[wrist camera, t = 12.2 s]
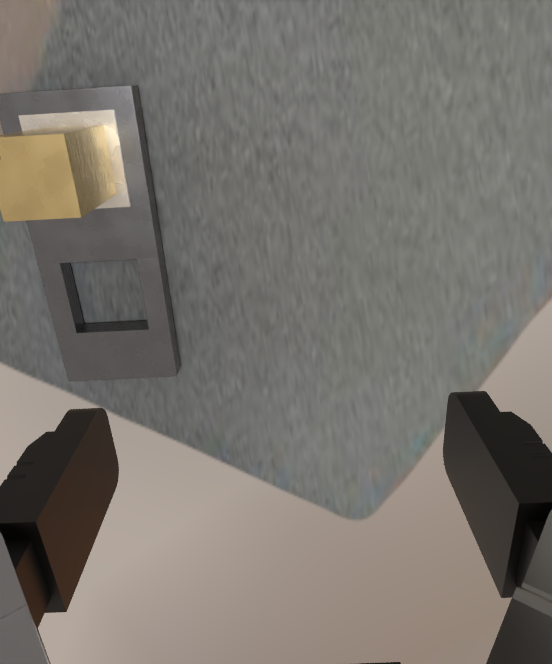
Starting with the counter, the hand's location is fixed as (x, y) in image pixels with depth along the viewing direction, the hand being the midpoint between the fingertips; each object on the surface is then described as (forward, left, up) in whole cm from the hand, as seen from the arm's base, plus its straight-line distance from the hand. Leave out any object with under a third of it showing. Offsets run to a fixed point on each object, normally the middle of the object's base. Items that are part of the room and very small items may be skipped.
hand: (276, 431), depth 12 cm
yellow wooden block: (-3, -15, -31) cm, 34 cm away
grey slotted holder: (+4, -15, -33) cm, 37 cm away
